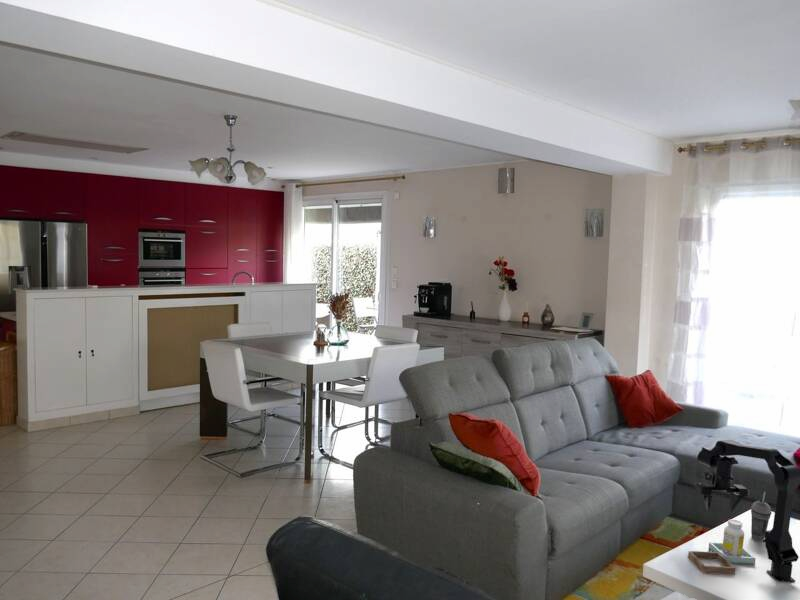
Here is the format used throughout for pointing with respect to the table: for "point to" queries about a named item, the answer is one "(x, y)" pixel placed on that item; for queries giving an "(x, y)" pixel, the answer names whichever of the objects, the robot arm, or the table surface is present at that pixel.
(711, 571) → the brown wooden square frame
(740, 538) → the supplement bottle
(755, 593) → the table surface
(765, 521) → the beverage cup
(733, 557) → the tray
